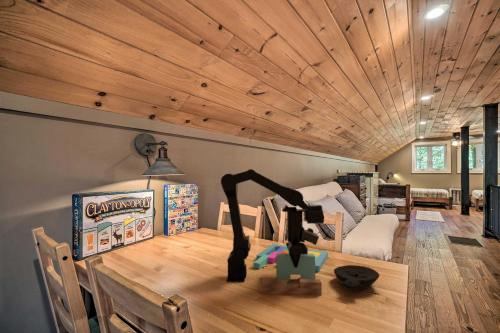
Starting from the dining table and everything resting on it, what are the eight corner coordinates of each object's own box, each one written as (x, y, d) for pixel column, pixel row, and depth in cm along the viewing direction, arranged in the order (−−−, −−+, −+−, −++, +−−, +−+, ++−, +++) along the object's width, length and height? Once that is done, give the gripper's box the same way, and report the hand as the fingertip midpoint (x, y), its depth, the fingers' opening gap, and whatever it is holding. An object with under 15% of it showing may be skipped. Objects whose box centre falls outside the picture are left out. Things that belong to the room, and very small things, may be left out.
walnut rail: (259, 293, 79) (259, 281, 79) (260, 290, 82) (260, 278, 82) (321, 295, 78) (321, 282, 78) (320, 291, 80) (319, 279, 81)
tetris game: (272, 249, 127) (247, 268, 102) (272, 243, 127) (247, 261, 102) (328, 257, 113) (314, 281, 89) (328, 251, 114) (314, 274, 89)
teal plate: (276, 280, 89) (276, 256, 89) (276, 277, 92) (276, 253, 92) (315, 281, 88) (315, 256, 88) (313, 277, 91) (313, 253, 91)
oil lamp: (324, 292, 80) (324, 277, 80) (339, 272, 96) (339, 259, 96) (374, 306, 71) (374, 289, 72) (382, 281, 88) (381, 267, 88)
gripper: (322, 229, 80) (323, 276, 80) (311, 218, 99) (312, 257, 99) (289, 229, 81) (289, 276, 81) (284, 218, 100) (284, 256, 99)
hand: (295, 265), depth 90 cm, fingers closed on teal plate, 3 cm apart
